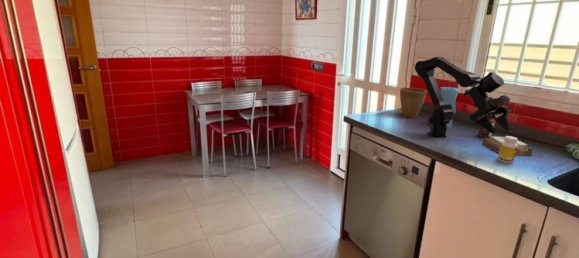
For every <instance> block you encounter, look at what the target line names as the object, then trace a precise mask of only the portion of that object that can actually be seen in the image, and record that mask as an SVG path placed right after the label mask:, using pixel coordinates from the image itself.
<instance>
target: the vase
mask: <svg viewBox="0 0 579 258" xmlns="http://www.w3.org/2000/svg"><path fill="white" fill-rule="evenodd" d="M459 91H460V90H459V89H458V88H456V87H444V86H441V87H440V93H441V95H442V97H443V100H444V102H445V103H446V104H451V106H452V109H453V110H454V112H453V113H454V115H455V113H456V112H457V109H456V99H457V96H458V93H459ZM446 127H447V129H449V128H451V129H452V128H453V119H452V120H450V122H449V123H448V124H447V125H446Z"/></svg>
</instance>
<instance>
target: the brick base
mask: <svg viewBox="0 0 579 258" xmlns="http://www.w3.org/2000/svg"><path fill="white" fill-rule="evenodd" d="M505 137H506V136H492V137H489V138H484V139H482V145H484V146H486V147H487V148H489V149H491V150H492V151H495V152H496V153H498V154H499V151H500V148H501V144H502V142H503V141H505ZM516 144H517V145H518V148H517V151H516V155H515V156H532V155H533V149H532V147H528V144H527V143H525V142H523V141H521V140H517V142H516Z"/></svg>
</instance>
